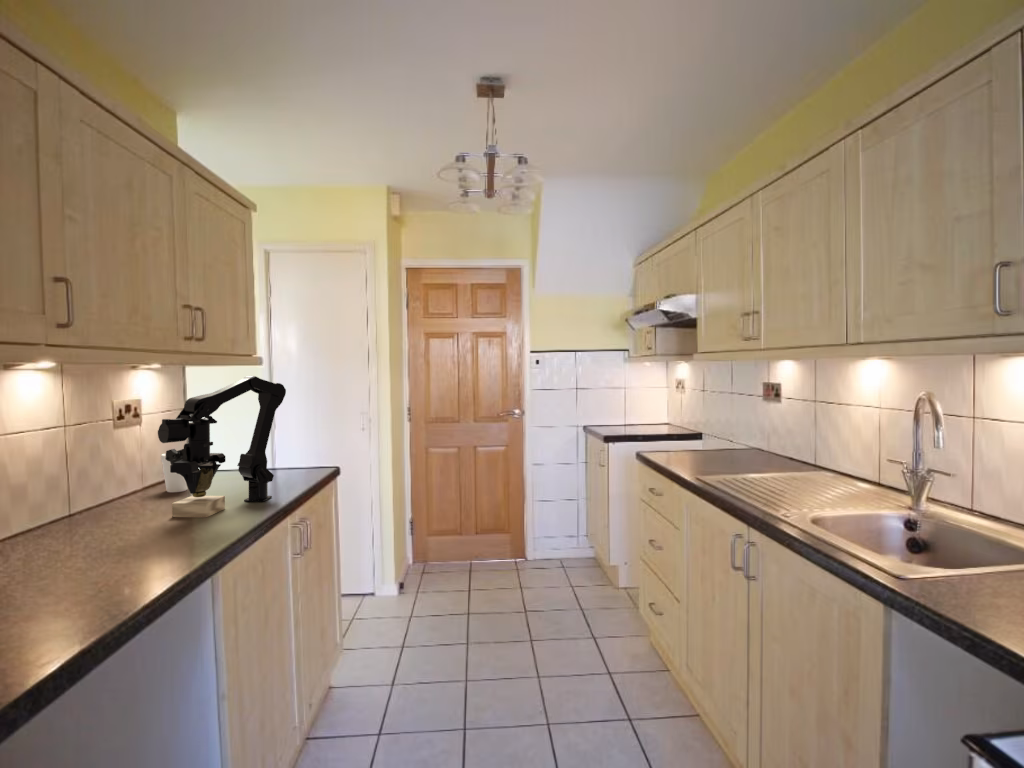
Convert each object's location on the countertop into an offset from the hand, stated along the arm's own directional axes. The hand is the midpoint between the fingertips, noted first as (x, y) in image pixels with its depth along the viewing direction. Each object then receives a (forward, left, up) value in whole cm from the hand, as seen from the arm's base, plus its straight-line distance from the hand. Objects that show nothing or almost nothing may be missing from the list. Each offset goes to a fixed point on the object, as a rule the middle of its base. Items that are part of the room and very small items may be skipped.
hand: (199, 491), depth 163 cm
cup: (0, 0, -2) cm, 2 cm away
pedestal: (0, 0, -7) cm, 7 cm away
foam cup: (-29, -26, -7) cm, 39 cm away
